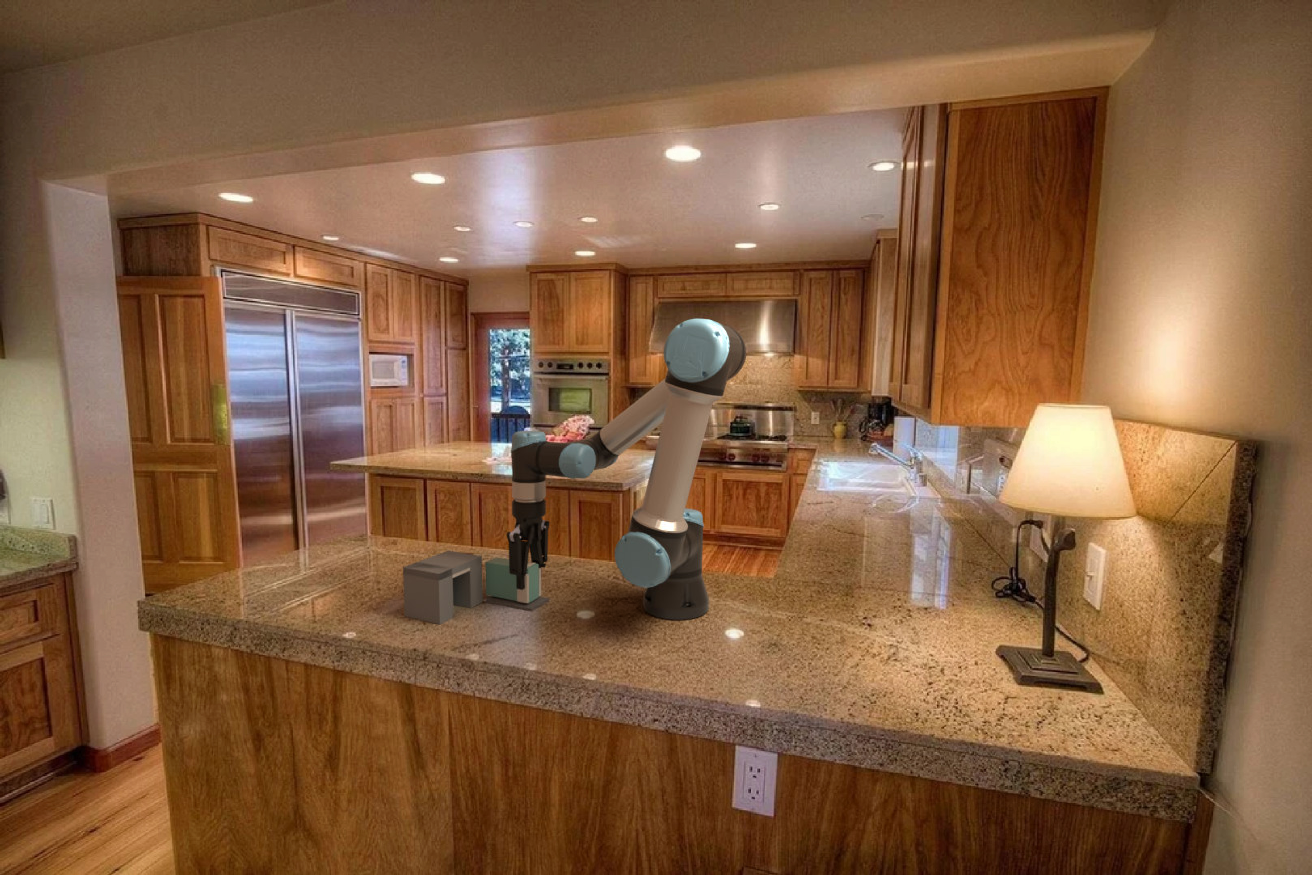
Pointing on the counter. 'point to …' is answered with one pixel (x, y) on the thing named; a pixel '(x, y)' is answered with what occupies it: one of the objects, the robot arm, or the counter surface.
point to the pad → (518, 603)
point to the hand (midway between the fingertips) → (529, 597)
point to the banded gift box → (508, 580)
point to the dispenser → (442, 585)
